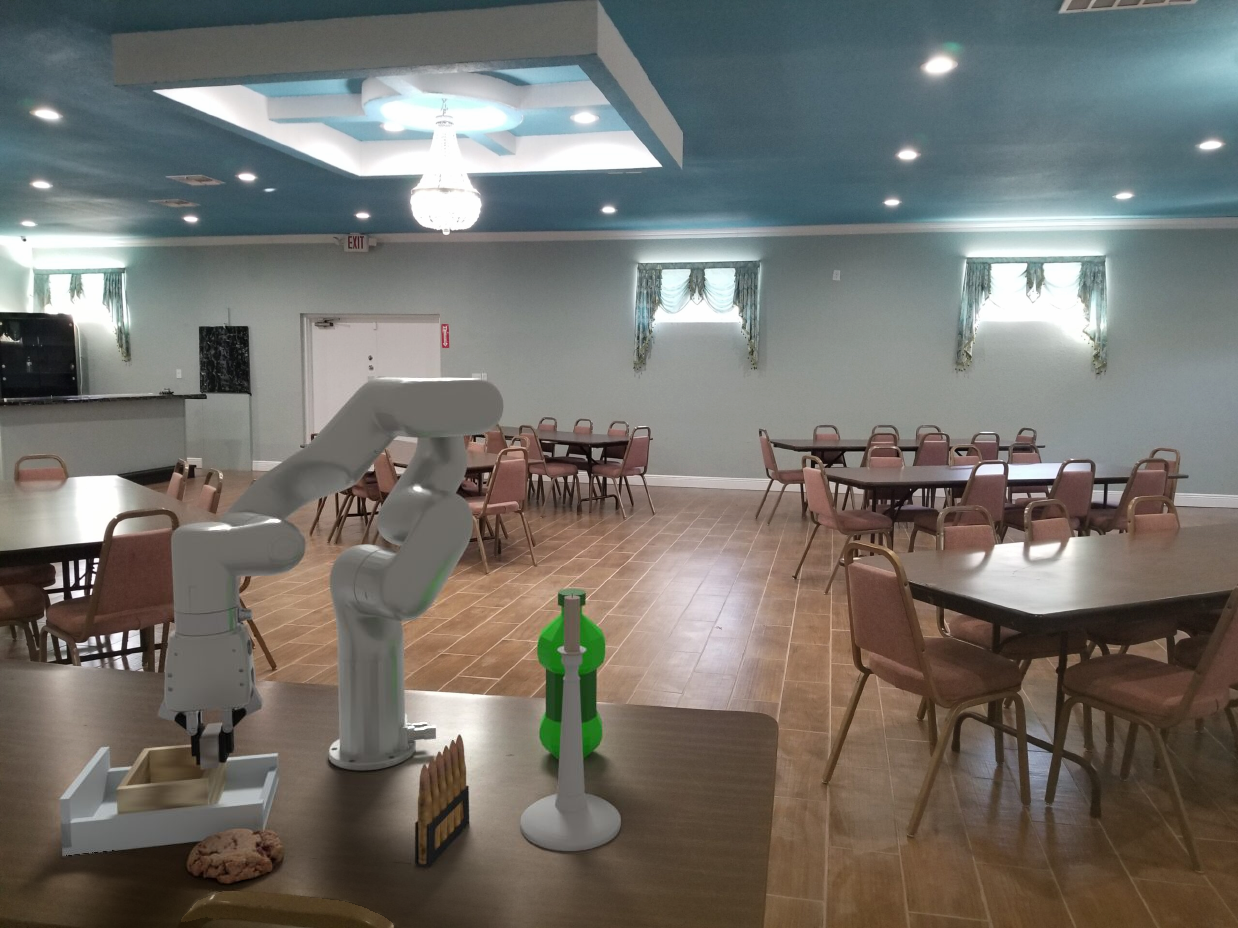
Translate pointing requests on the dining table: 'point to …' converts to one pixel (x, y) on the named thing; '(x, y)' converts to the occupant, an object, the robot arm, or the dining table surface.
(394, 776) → the dining table surface
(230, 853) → the cookie
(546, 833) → the candlestick
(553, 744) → the plastic bottle
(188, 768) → the drawer
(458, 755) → the ammunition clip
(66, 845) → the bay
